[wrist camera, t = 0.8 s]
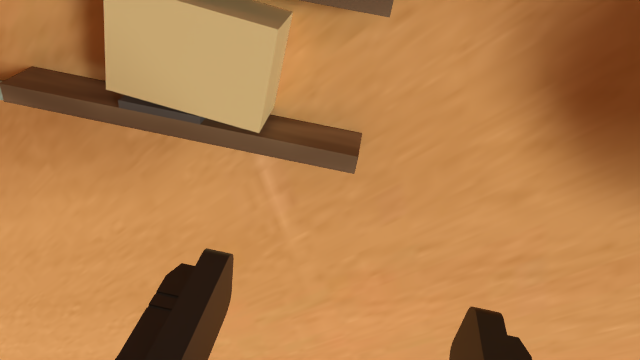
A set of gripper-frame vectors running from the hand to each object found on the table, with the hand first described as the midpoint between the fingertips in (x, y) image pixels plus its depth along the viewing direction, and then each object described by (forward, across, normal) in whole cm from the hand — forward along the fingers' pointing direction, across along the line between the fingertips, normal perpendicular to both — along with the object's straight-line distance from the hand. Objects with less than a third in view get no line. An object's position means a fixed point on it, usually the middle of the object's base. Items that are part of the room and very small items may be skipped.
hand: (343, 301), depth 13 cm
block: (+18, +10, 0) cm, 21 cm away
